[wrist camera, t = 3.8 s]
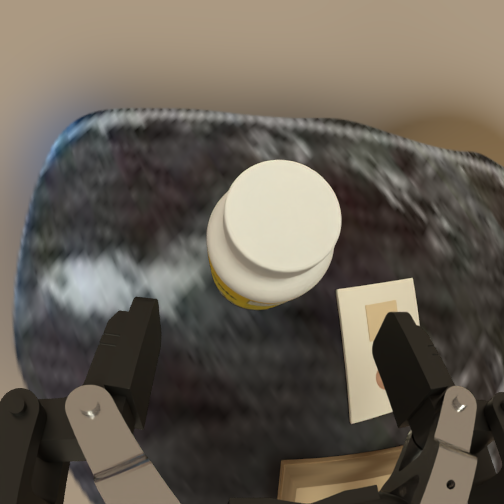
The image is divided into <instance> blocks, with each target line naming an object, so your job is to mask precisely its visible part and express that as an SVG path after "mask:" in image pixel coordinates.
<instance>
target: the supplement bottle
mask: <svg viewBox="0 0 504 504" xmlns="http://www.w3.org/2000/svg"><path fill="white" fill-rule="evenodd" d="M340 230H341V211H340V206H339V203H338V200H337V197H336V195H335V193H334V192H333V190H332V188H331V187H330V186H329V184H328V183H327V182H326V181H325V180H324V179H323V178H322V177H321V176H320V175H319V174H318V173H316V172H315V171H314V170H312V169H310V168H309V167H307V166H305V165H302V164H300V163H297V162H293V161H287V160H271V161H265V162H261V163H258V164H256V165H254V166H252V167H250V168H248V169H247V170H245V171H244V172H243V173H241V174H240V176H239V177H237V179H236V180H235V181H234V182H233V184H232V185H231V187H230V189H229V191H228V192H227V193H226V194H225V195H224V196H223V197H222V198H221V199H220V200H219V201H218V203H217V205H216V206H215V208H214V210H213V212H212V214H211V216H210V219H209V223H208V228H207V250H208V257H209V263H210V267H211V272H212V276H213V280H214V282H215V284H216V286H217V288H218V290H219V291H220V293H221V294H222V295H223V296H224V297H225V298H226V299H227V300H228V301H230V302H231V303H233V304H234V305H236V306H239V307H241V308H245V309H250V310H264V309H268V308H272V307H275V306H277V305H280V304H282V303H285V302H287V301H289V300H292V299H295V298H297V297H299V296H301V295H303V294H304V293H306V292H307V291H309V290H310V289H311V288H313V287H314V286H315V285H316V284H317V283H318V282H319V281H320V280H321V278H322V277H323V276H324V274H325V273H326V271H327V269H328V267H329V265H330V262H331V259H332V256H333V251H334V246H335V244H336V242H337V240H338V237H339V234H340Z"/></svg>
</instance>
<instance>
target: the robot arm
mask: <svg viewBox="0 0 504 504" xmlns="http://www.w3.org/2000/svg"><path fill="white" fill-rule="evenodd" d="M160 347H161V325H160V315H159V305H158V300H157V299H152V298H142V297H135V298H134V300H133V302H132V305H131V307H130V310H129V312H127V311H118V312H117V313H116V314H115V315H114V316H113V317H112V318H111V319H110V320H109V321H108V323H107V326H106V328H105V331H104V335H102V338H101V340H100V345H98V348H97V350H96V353H95V356H94V358H93V361H92V363H91V366H90V369H89V371H88V374H87V377H86V380H85V382H84V384H83V385H82V386H80V387H78V388H76V389H75V390H73V391H72V392H71V393H70V394H69V396H68V397H65V398H56V399H37V397H36V396H35V395H34V393H32V392H31V391H29V390H27V389H24V388H17V389H14V390H11V391H9V392H8V393H6V394H5V395H4V397H3V398H2V399H1V401H0V504H63V502H64V495H65V488H66V481H67V476H68V470H69V465H70V461H87V462H88V464H89V466H90V468H91V470H92V472H93V475H94V482H95V484H96V487H97V489H98V491H99V492H100V494H101V496H102V498H103V500H104V501H105V503H106V504H181V503H180V502H179V501H178V499H177V498H176V497H175V495H174V494H173V493H172V491H171V490H170V489H169V487H168V486H167V484H166V483H165V482H164V480H163V479H162V477H161V476H160V474H159V473H158V472H157V470H156V469H155V467H154V466H153V464H152V463H151V461H150V460H149V459H148V457H147V456H146V455H145V454H144V453H143V451H142V450H141V448H140V446H139V445H138V443H137V441H136V440H135V438H134V436H133V432H134V428H136V429H142V430H144V426H145V420H146V415H147V410H148V404H149V399H150V394H151V389H152V385H153V380H154V375H155V370H156V366H157V361H158V356H159V352H160ZM372 355H373V358H374V361H375V364H376V366H377V369H378V372H379V374H380V377H381V380H382V382H383V385H384V388H385V391H386V394H387V396H388V399H389V402H390V405H391V408H392V411H393V414H394V417H395V420H396V423H397V426H398V428H401V427H406V426H410V427H411V431H410V432H409V433H408V435H407V438H406V440H405V443H404V446H403V448H402V451H401V453H400V456H399V458H398V461H397V463H396V465H395V468H394V470H393V472H392V474H391V476H390V477H389V479H388V480H387V481H386V482H385V484H384V485H383V486H382V488H381V489H380V491H379V492H378V487H377V485H372V486H367V487H362V488H357V489H351V490H345V491H342V492H340V493H337V494H335V495H332V496H330V497H327V498H324V499H322V500H319V501H316V502H313V503H308V504H467V502H468V504H504V392H499V393H497V394H496V395H495V396H494V397H493V398H492V399H491V400H490V401H483V400H475V398H474V396H473V395H472V394H471V392H470V391H468V390H467V389H465V388H464V387H461V386H455V385H454V383H453V381H452V379H451V377H450V375H449V373H448V371H447V369H446V367H445V365H444V363H443V361H442V359H441V357H440V356H438V352H437V350H436V348H435V347H434V344H433V343H432V341H431V339H430V337H429V335H428V334H427V333H426V332H425V331H424V330H423V329H422V328H421V327H420V326H419V325H416V323H415V322H414V320H413V318H412V316H411V315H410V313H408V312H389V313H387V315H386V316H385V318H384V321H383V323H382V325H381V327H380V329H379V331H378V333H377V335H376V337H375V339H374V341H373V345H372ZM493 440H495V443H496V445H497V448H498V451H499V454H500V457H501V460H502V468H501V470H500V472H499V473H498V474H496V472H495V469H494V466H493V463H492V460H491V457H490V454H489V451H488V448H487V445H488V444H490V443H491V442H492V441H493ZM228 504H306V503H298V502H291V501H285V500H279V499H273V498H229V502H228Z"/></svg>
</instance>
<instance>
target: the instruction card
mask: <svg viewBox="0 0 504 504" xmlns="http://www.w3.org/2000/svg"><path fill="white" fill-rule="evenodd" d="M336 297H337V304H338V312H339V319H340V327H341V335H342V343H343V352H344V361H345V370H346V381H347V392H348V404H349V417H350V423H351V424H354V423H357V422H361V421H364V420H368V419H371V418H374V417H378V416H381V415H384V414H387V413H390V412H393V411H392V408H391V405H390V402H389V399H388V396H387V394H386V391H385V388H384V385H383V382H382V380H381V377H380V374H379V372H378V369H377V366H376V364H375V361H374V358H373V355H372V345H373V341H374V339H375V337H376V335H377V333H378V331H379V329H380V327H381V325H382V323H383V321H384V318H385V316H386V315H387V313H389V312H408V313H410V315H411V316H412V318H413V320H414V322H415V323H416V325H419V326H420V324H419V316H418V309H417V302H416V295H415V289H414V283H413V278H409V279H403V280H397V281H390V282H384V283H378V284H371V285H364V286H358V287H351V288H344V289H337V290H336Z"/></svg>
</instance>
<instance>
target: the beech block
mask: <svg viewBox="0 0 504 504" xmlns="http://www.w3.org/2000/svg"><path fill="white" fill-rule="evenodd" d="M403 446H404V445H403ZM403 446H398V447H393V448H388V449H383V450H377V451H371V452H365V453H358V454H351V455H343V456H334V457H324V458H312V459H296V460H281V467H280V477H279V487H278V496H277V499H279V500H285V501H291V502H298V503H306V504H308V503H313V502H316V501H319V500H322V499H324V498H327V497H330V496H332V495H335V494H337V493H340V492H342V491H345V490H351V489H357V488H362V487H367V486H372V485H377V487H378V492H379V491H380V489H381V488H382V486H383V485H384V484H385V482H386V481H387V480H388V479H389V477H390V476H391V474H392V472H393V470H394V468H395V465H396V463H397V461H398V458H399V456H400V453H401V451H402V448H403Z"/></svg>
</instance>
